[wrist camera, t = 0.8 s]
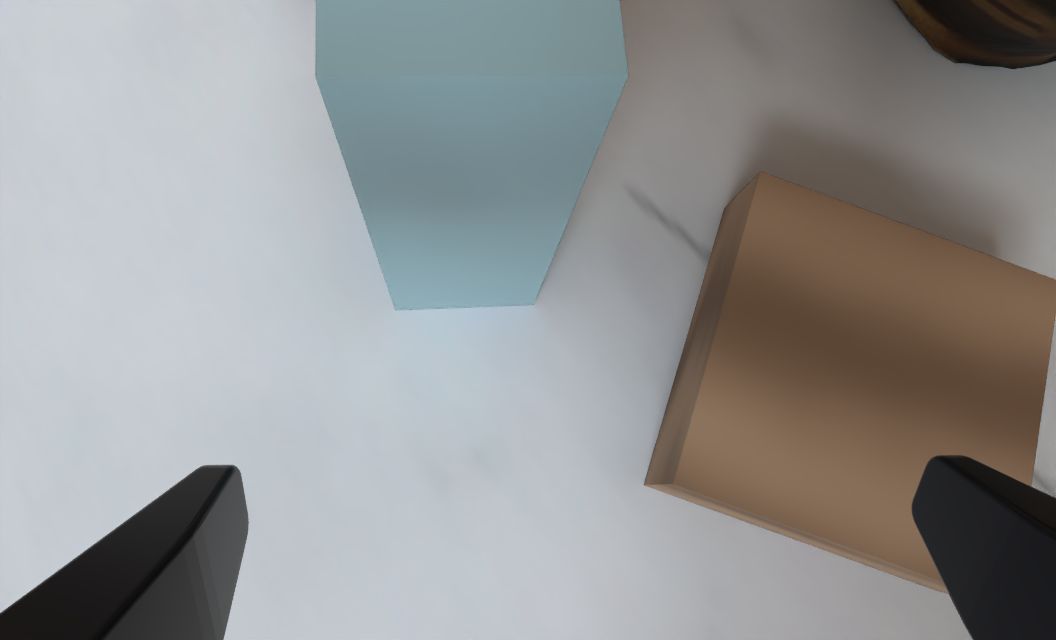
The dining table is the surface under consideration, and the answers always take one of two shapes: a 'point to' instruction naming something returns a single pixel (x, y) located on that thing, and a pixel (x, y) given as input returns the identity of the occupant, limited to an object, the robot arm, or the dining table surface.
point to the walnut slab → (849, 374)
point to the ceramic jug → (988, 30)
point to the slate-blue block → (468, 133)
